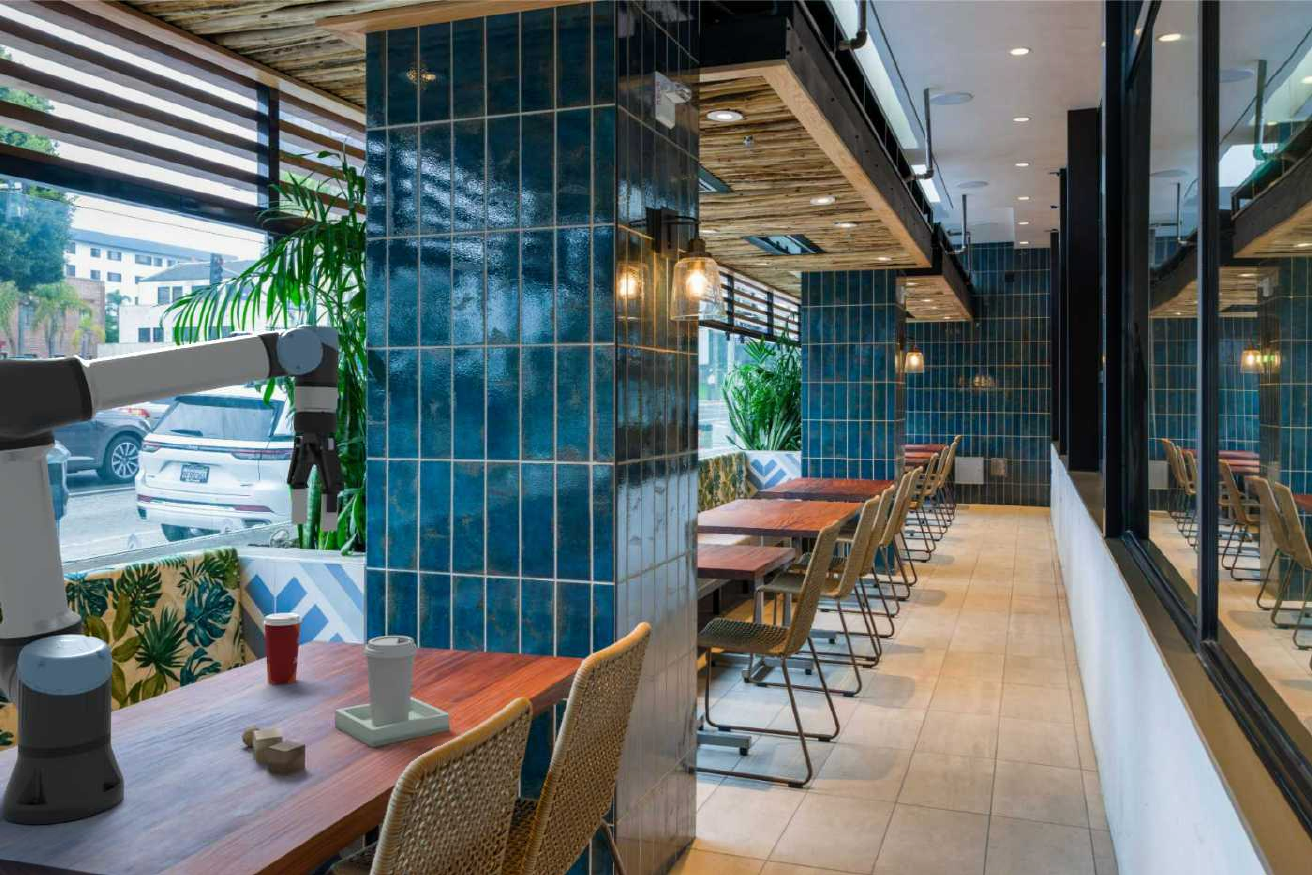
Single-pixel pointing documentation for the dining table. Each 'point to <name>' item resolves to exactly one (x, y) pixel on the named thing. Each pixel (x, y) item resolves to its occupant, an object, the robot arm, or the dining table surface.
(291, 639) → the paper cup
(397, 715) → the coffee cup
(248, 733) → the cork ball
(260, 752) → the beech block
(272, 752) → the walnut block
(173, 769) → the dining table surface
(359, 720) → the tray
